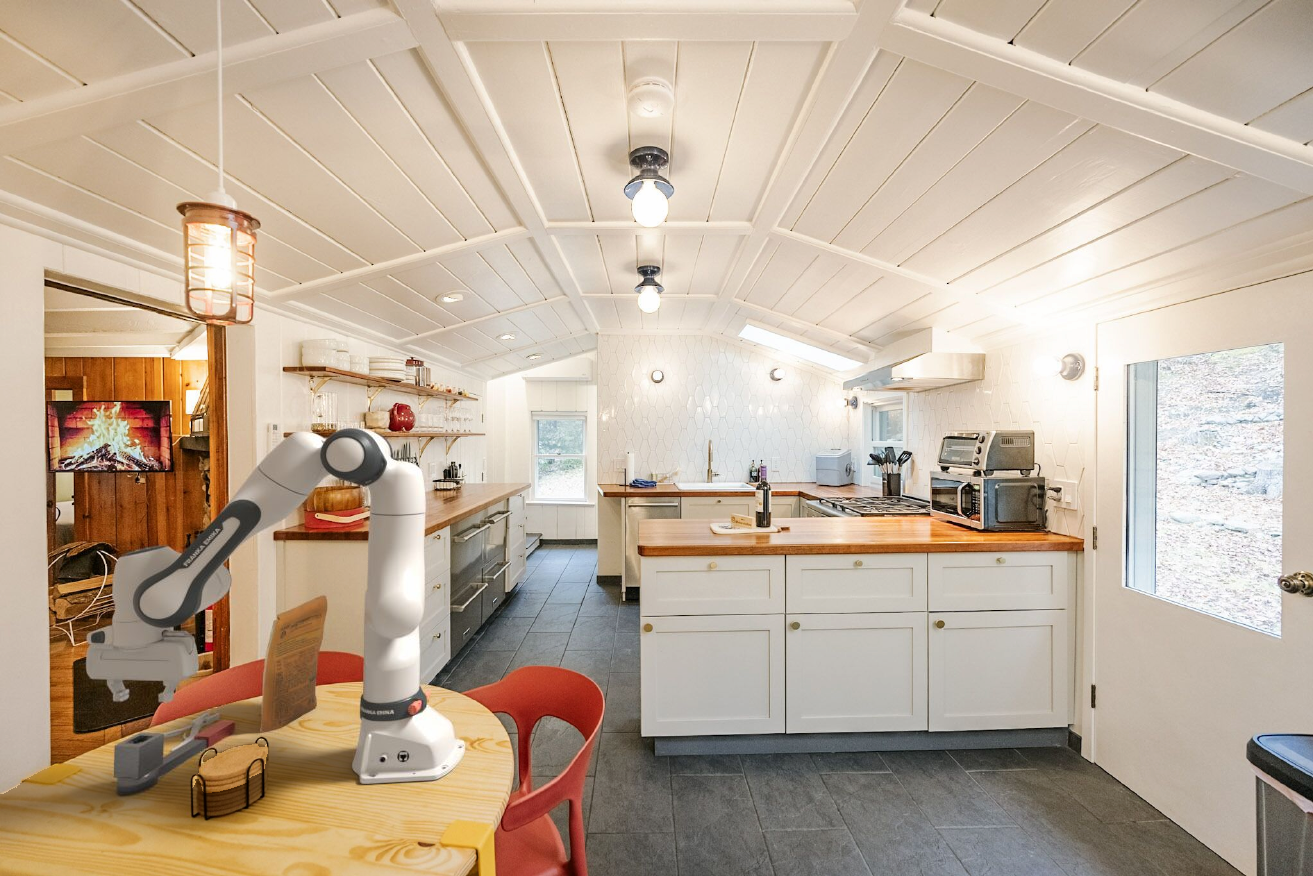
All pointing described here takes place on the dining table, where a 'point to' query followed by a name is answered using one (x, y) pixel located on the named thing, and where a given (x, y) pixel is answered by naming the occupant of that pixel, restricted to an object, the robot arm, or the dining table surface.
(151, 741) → the socket
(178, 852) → the dining table surface
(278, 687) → the pancake mix bag
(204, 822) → the dining table surface
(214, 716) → the pliers
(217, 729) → the ratchet
